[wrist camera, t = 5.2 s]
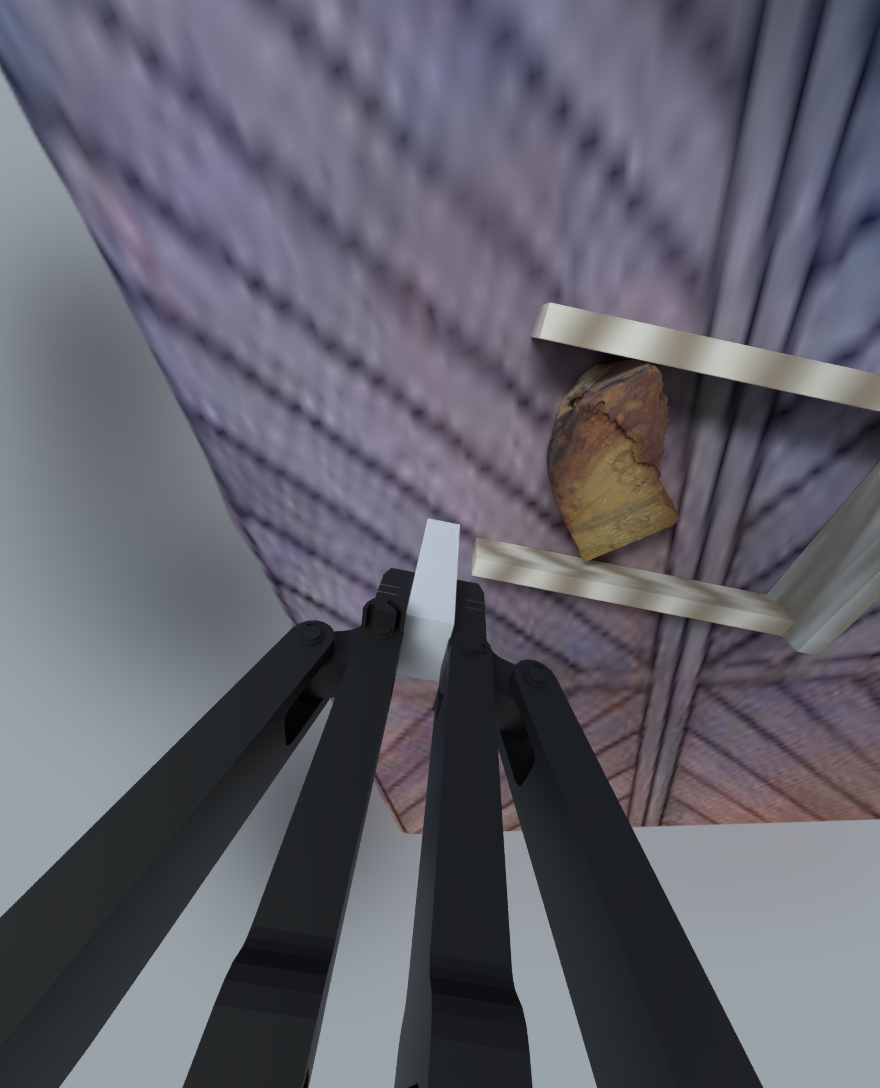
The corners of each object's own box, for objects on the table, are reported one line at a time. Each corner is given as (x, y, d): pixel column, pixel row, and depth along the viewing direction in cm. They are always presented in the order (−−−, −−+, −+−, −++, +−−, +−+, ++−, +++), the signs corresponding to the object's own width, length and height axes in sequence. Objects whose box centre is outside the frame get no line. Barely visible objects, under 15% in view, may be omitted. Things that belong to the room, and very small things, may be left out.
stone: (662, 516, 34) (690, 544, 30) (564, 544, 37) (576, 573, 32) (642, 351, 28) (673, 354, 23) (524, 398, 30) (532, 409, 26)
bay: (471, 553, 38) (471, 633, 28) (557, 241, 24) (614, 182, 15) (782, 614, 39) (889, 712, 29) (1027, 346, 25) (1384, 357, 15)
